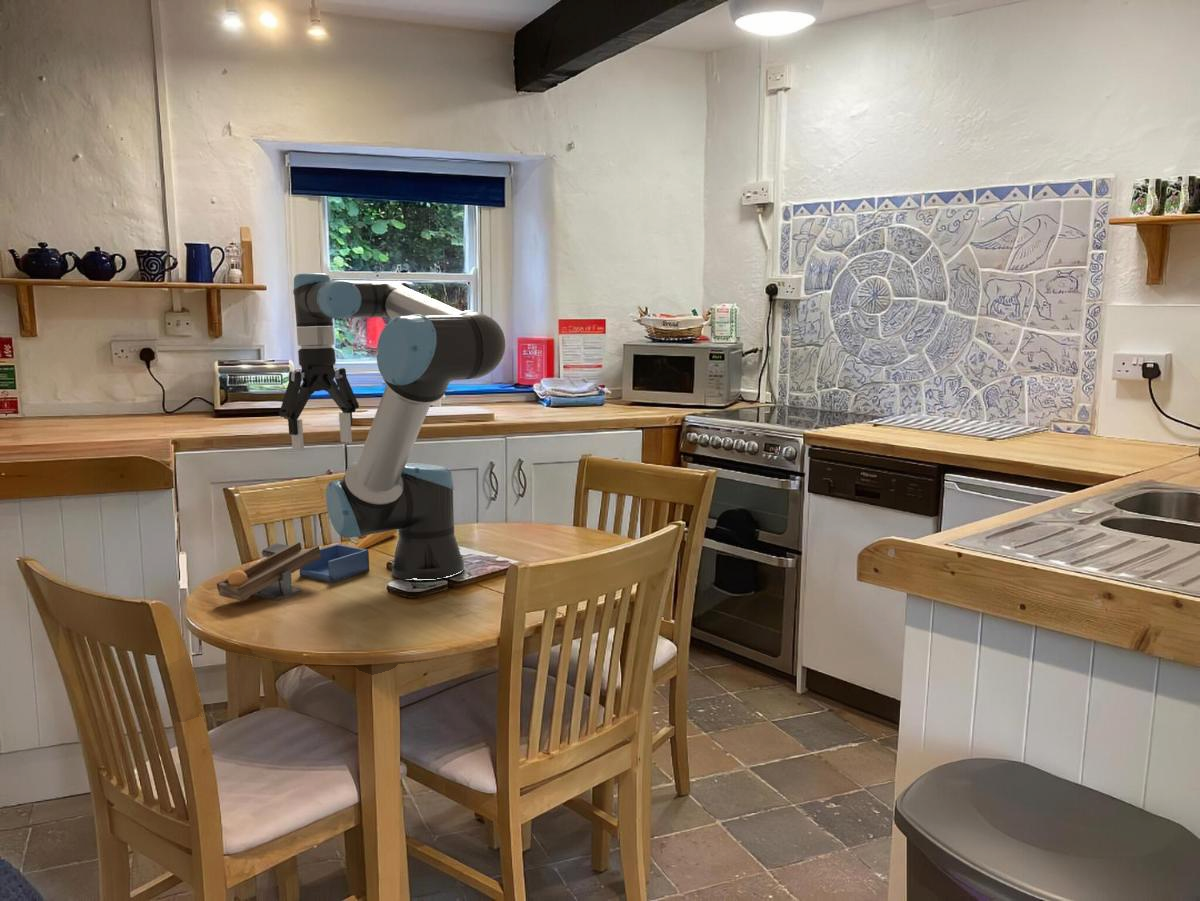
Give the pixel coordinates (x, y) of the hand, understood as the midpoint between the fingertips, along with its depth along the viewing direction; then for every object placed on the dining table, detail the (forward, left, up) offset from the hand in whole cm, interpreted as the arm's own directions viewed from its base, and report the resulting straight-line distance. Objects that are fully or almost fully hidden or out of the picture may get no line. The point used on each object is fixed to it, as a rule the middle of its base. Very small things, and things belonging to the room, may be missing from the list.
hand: (323, 446), depth 204 cm
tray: (-7, +4, -26) cm, 27 cm away
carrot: (+5, -17, -27) cm, 32 cm away
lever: (-3, +20, -23) cm, 31 cm away
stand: (-7, +20, -26) cm, 34 cm away
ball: (-7, +28, -22) cm, 36 cm away
